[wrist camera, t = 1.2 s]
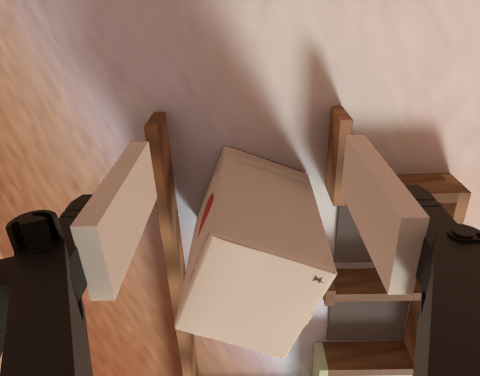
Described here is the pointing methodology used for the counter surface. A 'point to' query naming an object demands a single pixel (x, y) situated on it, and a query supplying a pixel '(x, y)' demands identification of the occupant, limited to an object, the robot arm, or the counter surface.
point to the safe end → (319, 361)
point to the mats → (365, 312)
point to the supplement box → (255, 257)
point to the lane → (347, 280)
